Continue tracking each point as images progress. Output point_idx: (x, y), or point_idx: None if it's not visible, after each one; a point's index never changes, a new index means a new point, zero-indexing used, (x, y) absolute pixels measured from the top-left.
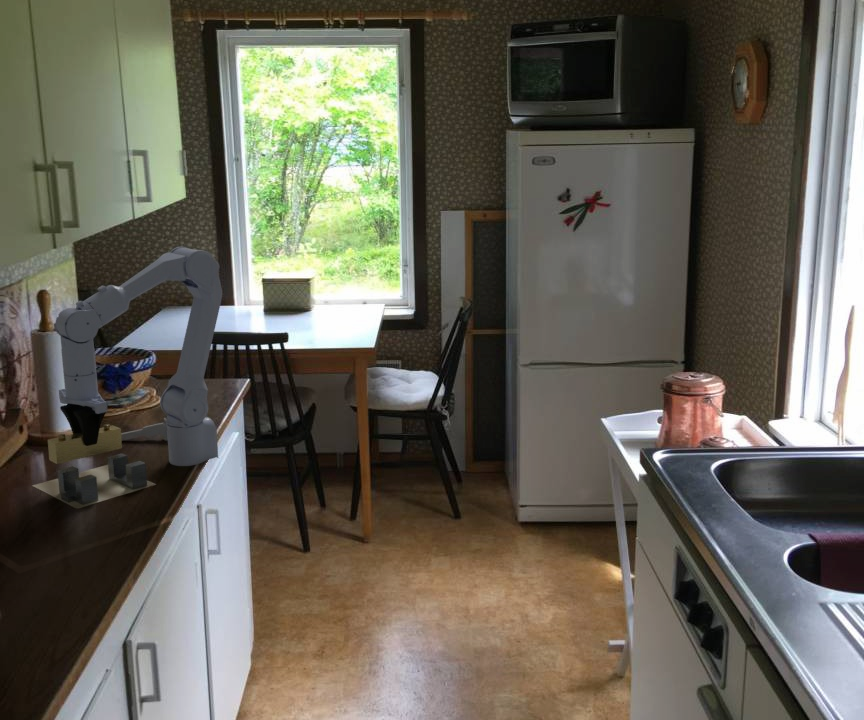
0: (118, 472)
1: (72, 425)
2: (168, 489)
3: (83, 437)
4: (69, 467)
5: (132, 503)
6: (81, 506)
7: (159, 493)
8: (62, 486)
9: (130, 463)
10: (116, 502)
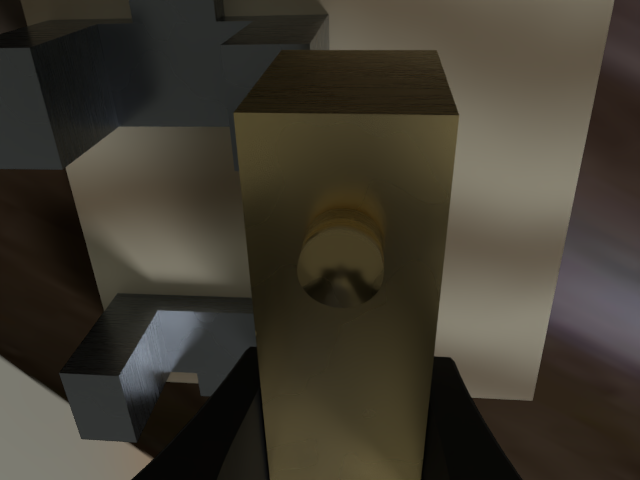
0: None
1: (446, 475)
2: None
3: (238, 391)
4: None
5: (13, 221)
6: (32, 3)
7: (68, 344)
8: (268, 24)
9: (123, 399)
10: (66, 182)
